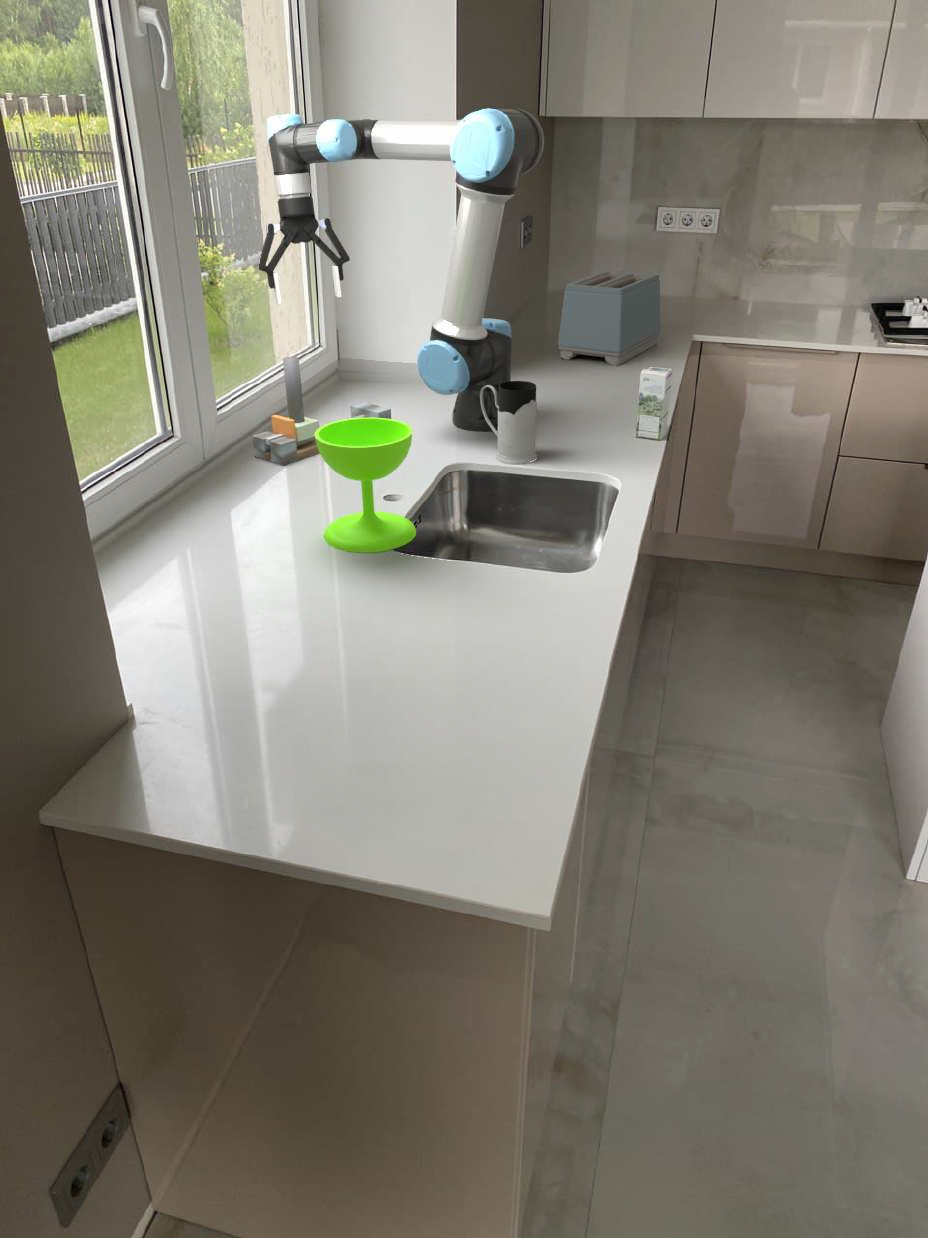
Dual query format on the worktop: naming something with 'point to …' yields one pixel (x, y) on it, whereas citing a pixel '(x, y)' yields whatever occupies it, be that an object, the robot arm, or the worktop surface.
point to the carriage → (297, 400)
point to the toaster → (610, 316)
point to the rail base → (293, 450)
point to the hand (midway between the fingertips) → (309, 300)
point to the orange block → (282, 428)
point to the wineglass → (366, 480)
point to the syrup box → (653, 403)
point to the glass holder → (515, 421)
